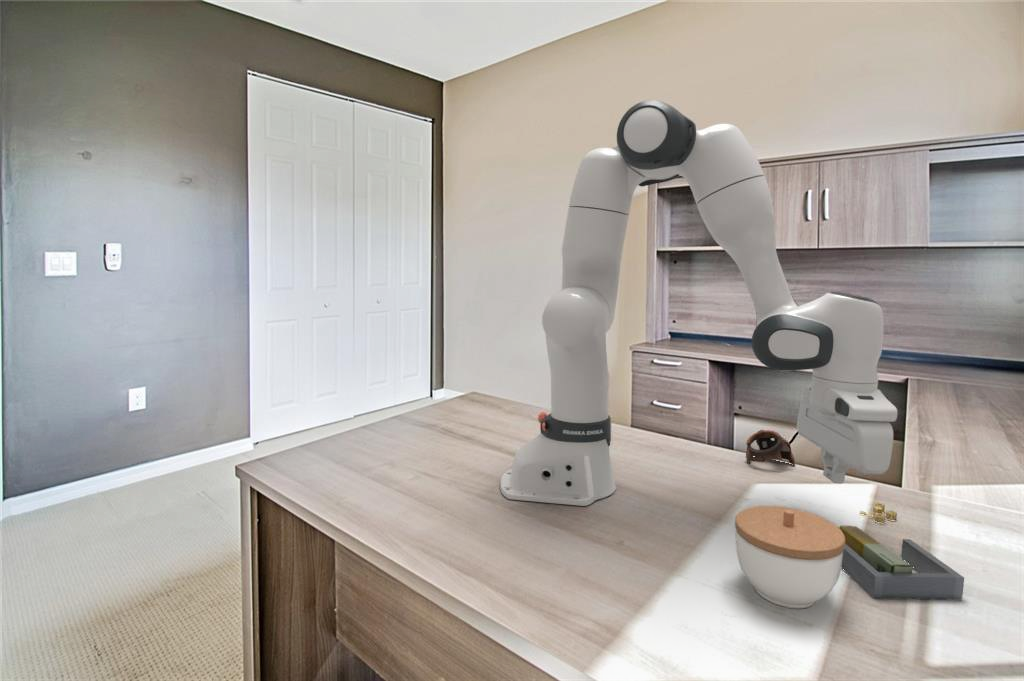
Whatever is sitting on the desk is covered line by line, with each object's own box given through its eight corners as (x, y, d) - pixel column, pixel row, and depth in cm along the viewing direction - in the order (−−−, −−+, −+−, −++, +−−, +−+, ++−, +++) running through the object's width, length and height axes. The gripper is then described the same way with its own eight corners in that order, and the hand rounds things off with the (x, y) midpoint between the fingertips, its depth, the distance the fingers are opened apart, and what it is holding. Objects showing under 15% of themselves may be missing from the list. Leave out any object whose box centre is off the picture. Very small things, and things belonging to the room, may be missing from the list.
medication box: (911, 596, 70) (915, 567, 70) (891, 595, 70) (894, 566, 70) (853, 549, 82) (855, 524, 82) (835, 549, 82) (837, 524, 82)
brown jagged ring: (806, 473, 114) (794, 443, 112) (762, 489, 116) (749, 460, 114) (782, 442, 125) (770, 414, 123) (742, 457, 127) (730, 430, 125)
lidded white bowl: (733, 609, 67) (737, 524, 66) (731, 559, 79) (734, 486, 78) (850, 632, 63) (857, 542, 62) (830, 576, 75) (835, 499, 73)
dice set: (878, 512, 96) (879, 502, 95) (904, 525, 91) (905, 514, 90) (853, 514, 95) (854, 504, 95) (878, 528, 90) (878, 517, 90)
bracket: (873, 598, 69) (875, 576, 69) (830, 557, 79) (832, 538, 79) (962, 599, 69) (964, 577, 69) (908, 558, 79) (909, 539, 79)
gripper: (791, 381, 96) (783, 456, 98) (859, 412, 75) (849, 506, 77) (827, 382, 96) (819, 458, 97) (906, 413, 75) (894, 508, 77)
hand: (833, 480), depth 87 cm, fingers closed
